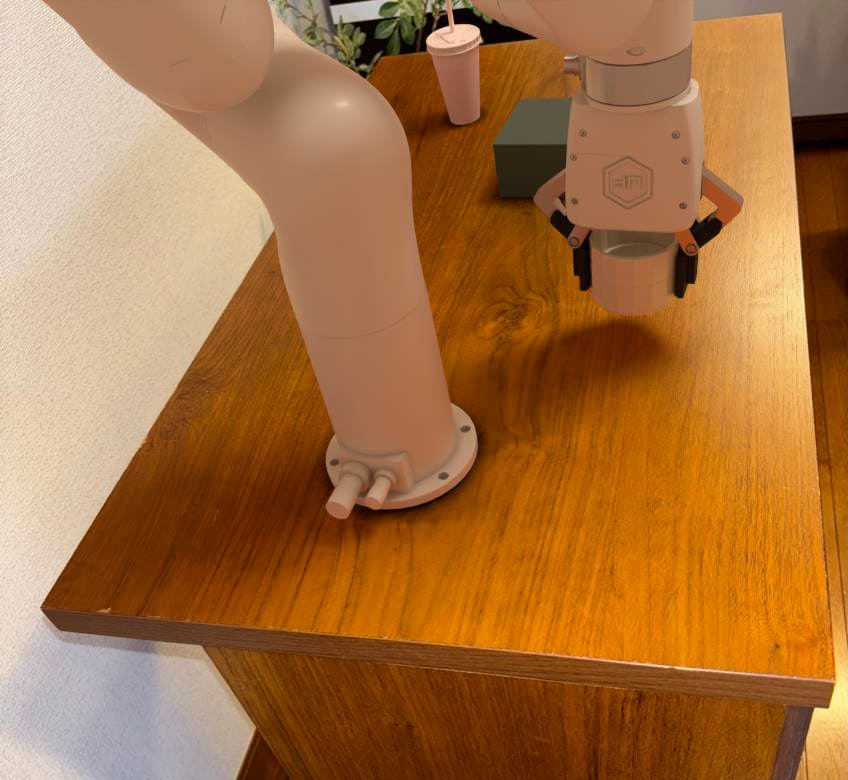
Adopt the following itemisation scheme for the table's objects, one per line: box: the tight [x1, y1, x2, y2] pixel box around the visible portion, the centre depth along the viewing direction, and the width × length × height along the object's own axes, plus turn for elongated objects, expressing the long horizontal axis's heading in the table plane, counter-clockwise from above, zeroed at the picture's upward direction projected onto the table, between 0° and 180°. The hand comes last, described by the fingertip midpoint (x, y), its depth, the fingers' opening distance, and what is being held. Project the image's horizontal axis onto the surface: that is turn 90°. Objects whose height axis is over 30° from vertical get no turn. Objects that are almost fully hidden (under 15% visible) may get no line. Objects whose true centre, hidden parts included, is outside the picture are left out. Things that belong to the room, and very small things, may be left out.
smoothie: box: [425, 0, 482, 126], centre depth 115 cm, size 6×6×14 cm
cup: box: [589, 229, 680, 317], centre depth 81 cm, size 7×7×6 cm
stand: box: [492, 97, 573, 199], centre depth 105 cm, size 10×10×6 cm
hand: (634, 284), depth 83 cm, fingers closed on cup, 7 cm apart
